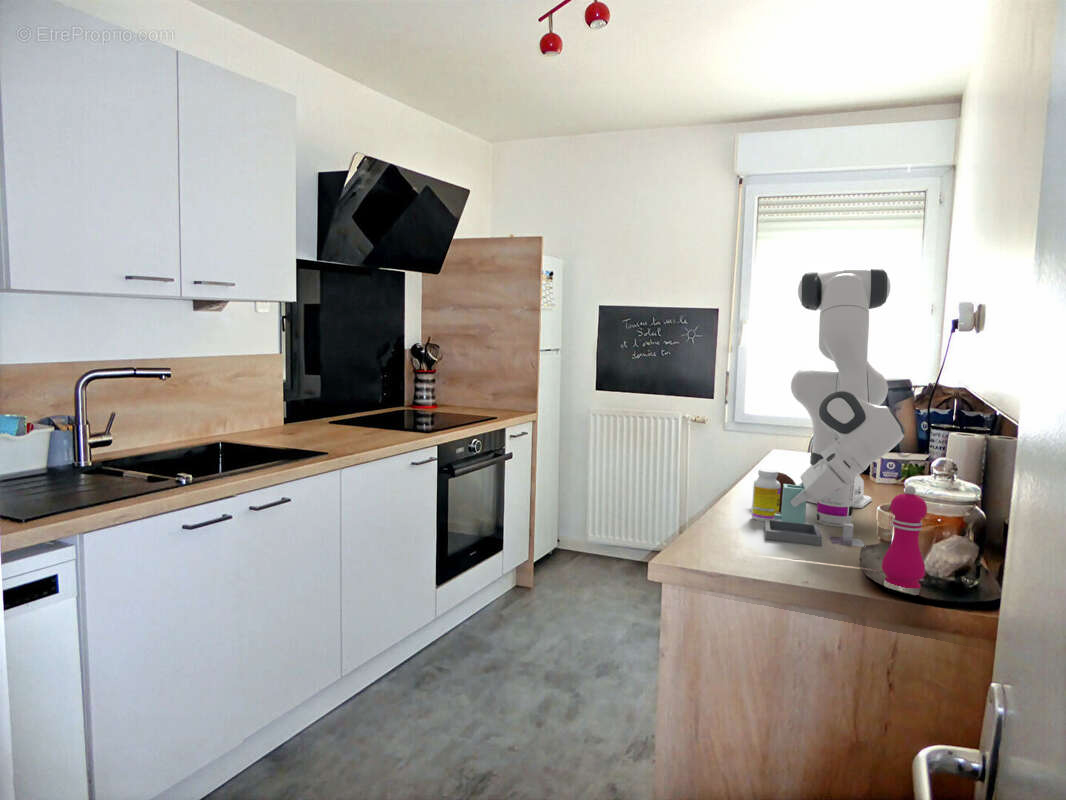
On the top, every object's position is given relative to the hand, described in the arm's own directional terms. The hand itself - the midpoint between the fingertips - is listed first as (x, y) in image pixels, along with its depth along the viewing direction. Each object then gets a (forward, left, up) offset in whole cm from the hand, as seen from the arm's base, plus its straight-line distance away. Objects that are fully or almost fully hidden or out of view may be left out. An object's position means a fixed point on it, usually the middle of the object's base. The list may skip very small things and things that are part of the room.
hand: (791, 501), depth 171 cm
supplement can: (-22, +1, -9) cm, 24 cm away
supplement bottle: (-11, -12, -9) cm, 19 cm away
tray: (0, +1, -9) cm, 9 cm away
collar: (0, +1, -4) cm, 4 cm away
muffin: (-25, -17, -9) cm, 32 cm away
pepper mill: (+18, +32, -9) cm, 37 cm away
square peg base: (-7, +11, -9) cm, 16 cm away
